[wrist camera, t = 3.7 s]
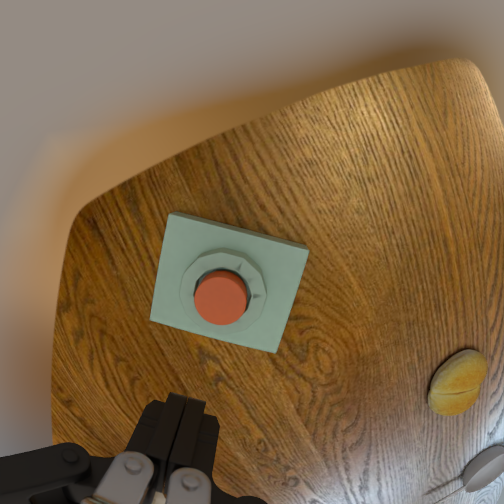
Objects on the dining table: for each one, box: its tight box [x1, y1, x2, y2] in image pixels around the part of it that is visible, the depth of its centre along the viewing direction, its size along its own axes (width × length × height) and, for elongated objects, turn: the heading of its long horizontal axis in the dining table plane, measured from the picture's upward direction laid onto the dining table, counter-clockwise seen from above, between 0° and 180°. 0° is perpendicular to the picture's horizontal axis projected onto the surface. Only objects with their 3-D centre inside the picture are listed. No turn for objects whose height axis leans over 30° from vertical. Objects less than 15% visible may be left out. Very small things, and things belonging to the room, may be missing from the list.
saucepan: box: [434, 445, 504, 504], centre depth 35 cm, size 11×18×4 cm, turn 113°
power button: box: [194, 271, 247, 325], centre depth 25 cm, size 4×4×2 cm
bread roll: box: [428, 349, 488, 416], centre depth 30 cm, size 8×9×4 cm
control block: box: [150, 211, 309, 353], centre depth 27 cm, size 12×10×4 cm
